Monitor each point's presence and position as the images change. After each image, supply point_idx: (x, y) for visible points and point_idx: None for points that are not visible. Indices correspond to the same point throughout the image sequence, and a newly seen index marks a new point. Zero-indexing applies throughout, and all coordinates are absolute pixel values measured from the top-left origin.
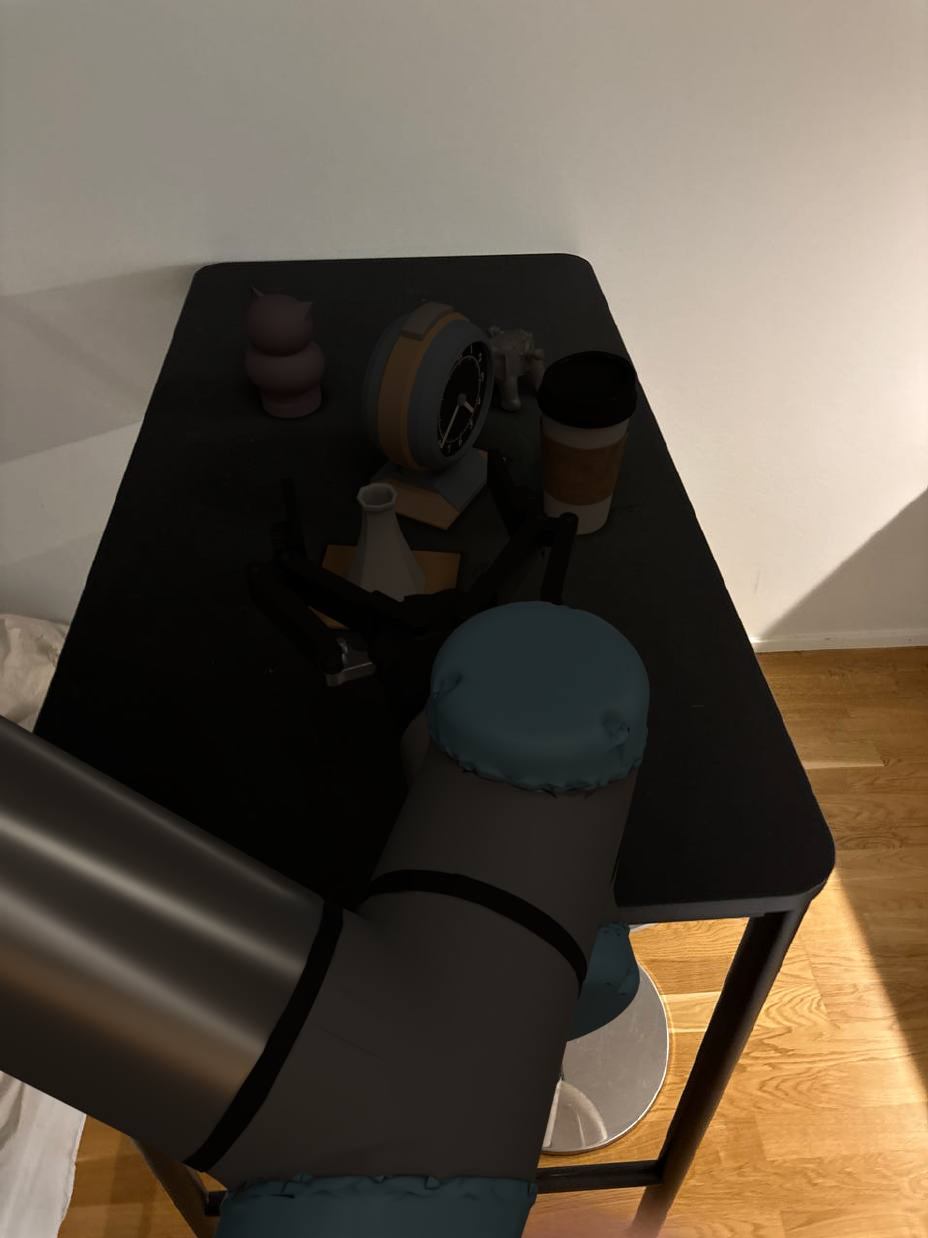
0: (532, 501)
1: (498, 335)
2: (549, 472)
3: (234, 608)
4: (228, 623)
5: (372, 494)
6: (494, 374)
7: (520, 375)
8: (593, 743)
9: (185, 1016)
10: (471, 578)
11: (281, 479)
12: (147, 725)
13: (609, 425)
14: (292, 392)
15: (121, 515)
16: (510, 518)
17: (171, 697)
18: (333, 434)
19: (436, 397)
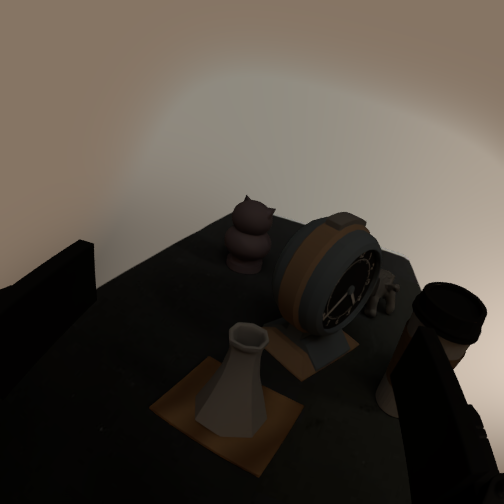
0: (483, 444)
1: None
2: None
3: (115, 367)
4: (103, 375)
5: (247, 333)
6: None
7: (381, 297)
8: None
9: None
10: (304, 430)
11: (80, 240)
12: (7, 407)
13: (465, 344)
14: (243, 257)
15: (110, 280)
16: (440, 475)
17: (32, 400)
18: (256, 289)
19: (336, 275)
